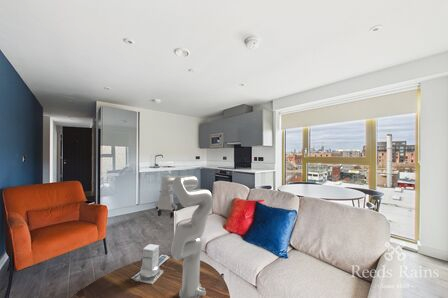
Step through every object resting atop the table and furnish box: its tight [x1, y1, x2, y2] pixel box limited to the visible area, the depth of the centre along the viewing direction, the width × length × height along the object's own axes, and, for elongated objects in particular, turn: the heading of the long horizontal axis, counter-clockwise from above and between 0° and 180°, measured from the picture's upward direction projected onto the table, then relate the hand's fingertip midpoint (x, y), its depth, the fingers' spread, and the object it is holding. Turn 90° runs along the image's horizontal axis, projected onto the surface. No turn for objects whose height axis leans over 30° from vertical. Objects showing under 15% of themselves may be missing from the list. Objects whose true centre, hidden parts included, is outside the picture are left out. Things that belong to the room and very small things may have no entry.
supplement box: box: [141, 243, 160, 271], centre depth 119 cm, size 7×7×13 cm
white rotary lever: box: [135, 262, 164, 285], centre depth 119 cm, size 12×12×6 cm
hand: (165, 216), depth 135 cm, fingers open, 9 cm apart
